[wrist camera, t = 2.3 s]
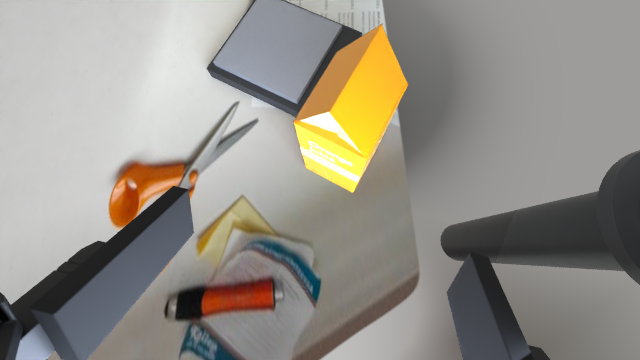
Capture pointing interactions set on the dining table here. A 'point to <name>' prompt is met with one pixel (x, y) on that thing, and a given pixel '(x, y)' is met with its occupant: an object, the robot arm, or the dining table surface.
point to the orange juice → (351, 109)
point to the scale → (280, 53)
